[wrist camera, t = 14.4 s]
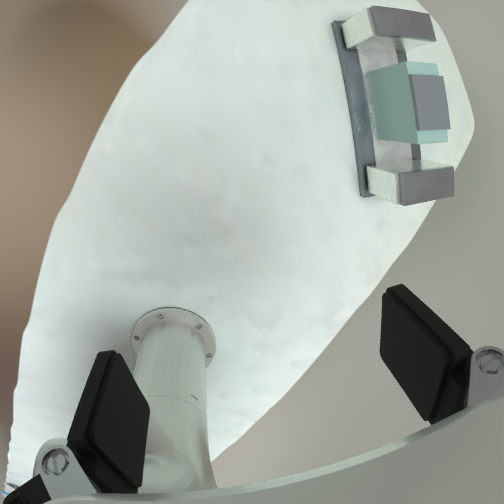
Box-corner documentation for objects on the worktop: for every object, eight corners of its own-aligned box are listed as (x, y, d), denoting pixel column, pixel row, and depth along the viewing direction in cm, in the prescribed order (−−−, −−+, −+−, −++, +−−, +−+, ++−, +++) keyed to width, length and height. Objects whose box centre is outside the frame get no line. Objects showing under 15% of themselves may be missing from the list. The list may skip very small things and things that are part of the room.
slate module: (395, 72, 33) (440, 63, 24) (405, 136, 37) (451, 142, 28) (366, 72, 33) (408, 60, 24) (377, 139, 36) (421, 145, 28)
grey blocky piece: (417, 185, 41) (459, 200, 32) (360, 195, 41) (397, 213, 32) (394, 26, 32) (433, 10, 23) (331, 23, 32) (363, -1, 23)
